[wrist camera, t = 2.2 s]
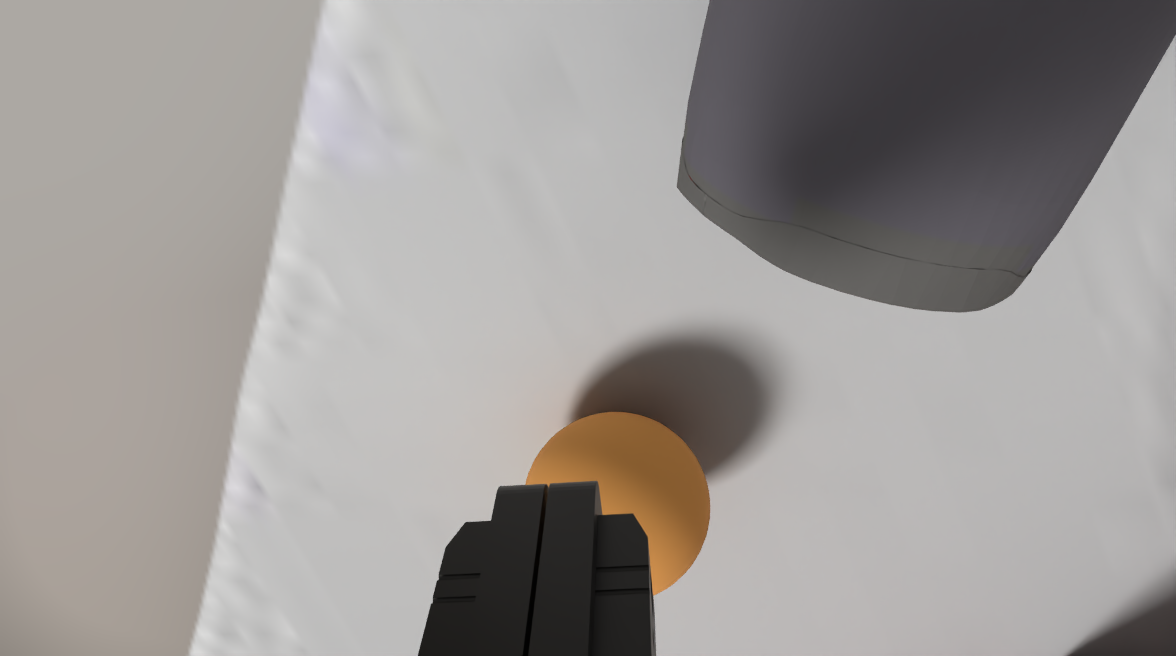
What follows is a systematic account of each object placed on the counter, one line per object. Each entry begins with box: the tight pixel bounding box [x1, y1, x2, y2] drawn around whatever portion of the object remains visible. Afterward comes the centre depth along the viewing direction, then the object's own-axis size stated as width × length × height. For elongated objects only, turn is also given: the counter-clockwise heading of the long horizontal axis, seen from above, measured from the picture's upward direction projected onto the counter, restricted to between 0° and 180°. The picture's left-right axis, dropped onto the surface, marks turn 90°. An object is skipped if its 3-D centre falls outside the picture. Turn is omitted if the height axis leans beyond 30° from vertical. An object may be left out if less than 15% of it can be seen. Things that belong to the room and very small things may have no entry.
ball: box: [525, 412, 710, 595], centre depth 28 cm, size 6×6×6 cm
